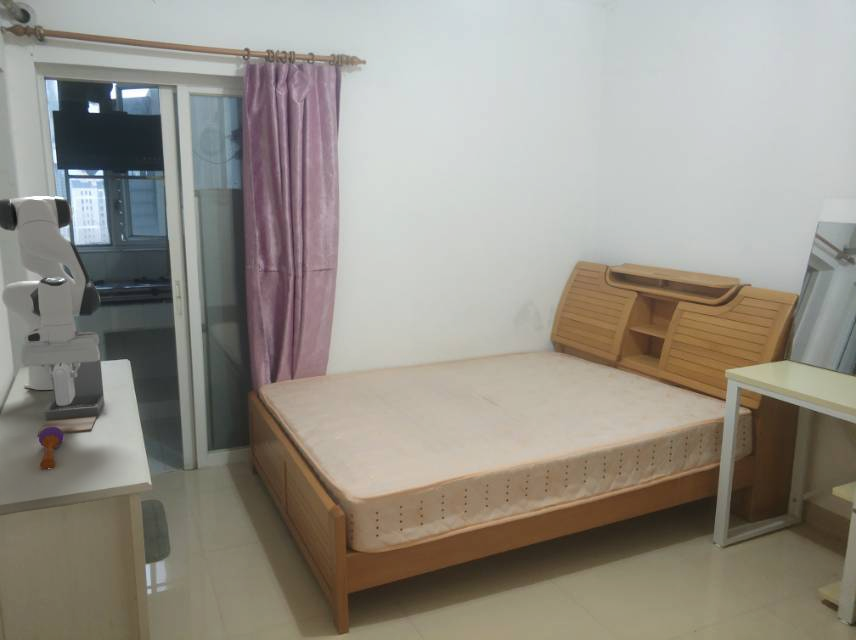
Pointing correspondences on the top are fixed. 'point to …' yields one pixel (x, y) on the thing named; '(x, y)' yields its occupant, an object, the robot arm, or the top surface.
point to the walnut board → (71, 424)
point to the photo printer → (63, 384)
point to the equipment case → (81, 393)
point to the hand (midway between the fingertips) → (63, 378)
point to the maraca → (50, 445)
